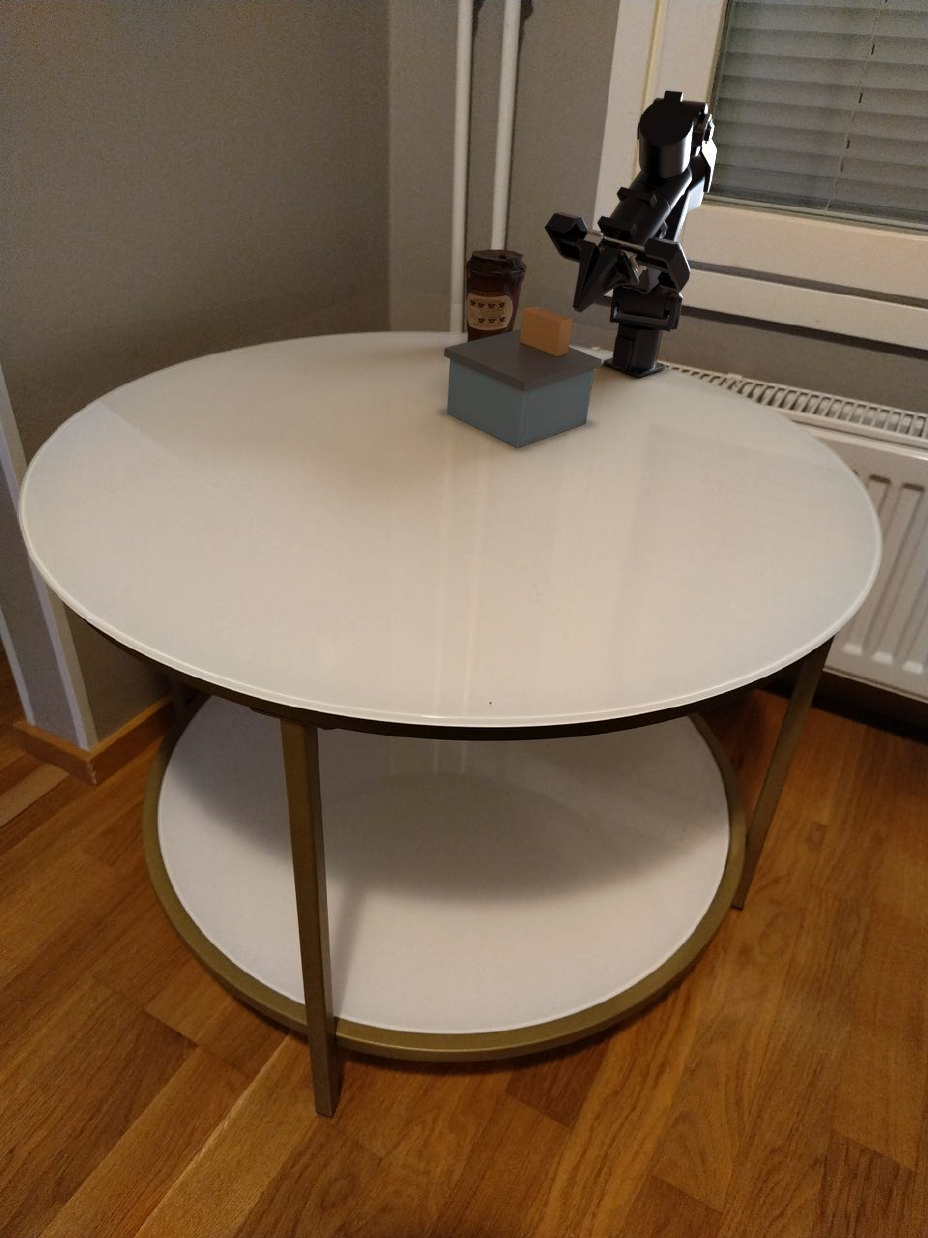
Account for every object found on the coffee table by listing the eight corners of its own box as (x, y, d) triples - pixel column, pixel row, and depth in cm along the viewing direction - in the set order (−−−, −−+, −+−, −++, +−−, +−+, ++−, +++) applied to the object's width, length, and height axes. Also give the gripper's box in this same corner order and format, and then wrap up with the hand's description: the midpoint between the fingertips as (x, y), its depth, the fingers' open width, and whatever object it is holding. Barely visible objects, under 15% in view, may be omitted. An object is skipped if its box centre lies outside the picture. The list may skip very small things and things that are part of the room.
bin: (515, 392, 111) (520, 338, 107) (586, 423, 104) (594, 367, 100) (446, 413, 104) (449, 356, 100) (517, 448, 98) (523, 388, 93)
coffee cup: (513, 361, 120) (522, 264, 113) (455, 354, 121) (460, 257, 114) (522, 342, 127) (531, 249, 120) (467, 335, 128) (473, 242, 121)
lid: (520, 336, 108) (524, 295, 105) (600, 367, 100) (607, 324, 97) (443, 356, 100) (445, 312, 97) (524, 391, 93) (528, 345, 90)
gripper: (731, 262, 104) (659, 370, 104) (609, 230, 114) (544, 328, 114) (709, 196, 94) (630, 314, 95) (580, 167, 105) (509, 274, 105)
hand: (576, 309), depth 102 cm, fingers closed
